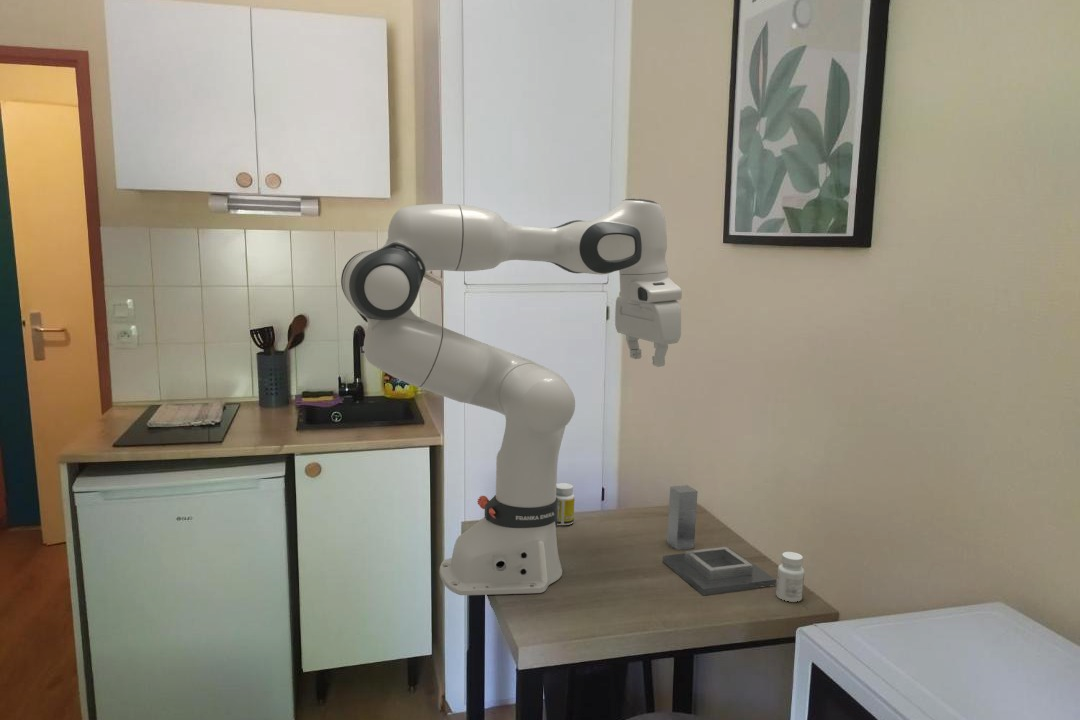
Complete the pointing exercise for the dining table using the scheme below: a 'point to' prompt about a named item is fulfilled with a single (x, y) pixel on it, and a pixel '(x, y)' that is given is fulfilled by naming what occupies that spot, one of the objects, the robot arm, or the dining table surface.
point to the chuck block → (717, 570)
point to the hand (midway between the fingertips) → (646, 362)
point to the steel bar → (682, 517)
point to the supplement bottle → (565, 503)
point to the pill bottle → (790, 577)
